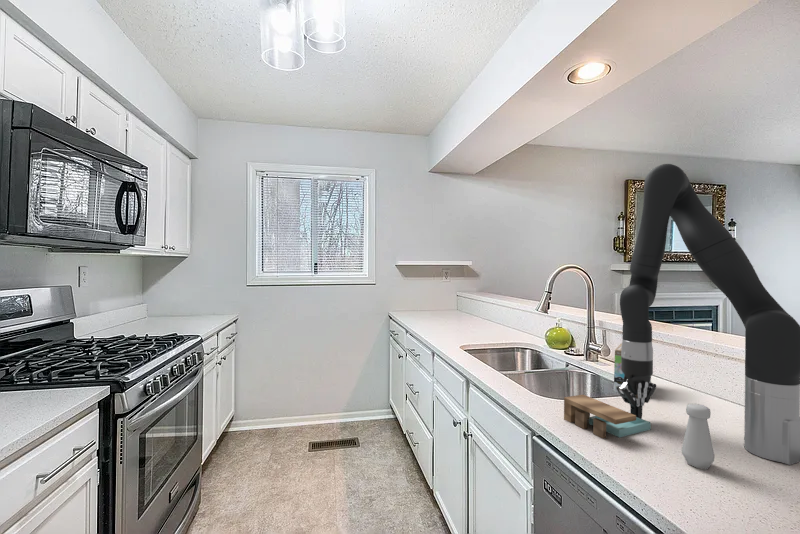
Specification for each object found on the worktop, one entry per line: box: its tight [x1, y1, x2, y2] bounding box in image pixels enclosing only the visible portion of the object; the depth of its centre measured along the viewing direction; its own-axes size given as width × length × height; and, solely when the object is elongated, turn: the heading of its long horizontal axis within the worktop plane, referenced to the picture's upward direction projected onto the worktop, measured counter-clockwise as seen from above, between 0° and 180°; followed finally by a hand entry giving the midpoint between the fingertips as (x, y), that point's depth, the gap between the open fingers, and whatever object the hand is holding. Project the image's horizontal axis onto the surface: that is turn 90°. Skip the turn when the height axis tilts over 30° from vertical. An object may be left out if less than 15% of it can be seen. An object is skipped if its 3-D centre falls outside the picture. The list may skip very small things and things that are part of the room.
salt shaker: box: [681, 403, 715, 470], centre depth 84 cm, size 6×6×13 cm
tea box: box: [613, 342, 652, 394], centre depth 135 cm, size 15×10×15 cm, turn 143°
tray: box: [588, 415, 652, 438], centre depth 104 cm, size 9×12×2 cm
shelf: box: [563, 394, 636, 440], centre depth 102 cm, size 16×7×6 cm, turn 21°
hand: (636, 418), depth 107 cm, fingers closed
